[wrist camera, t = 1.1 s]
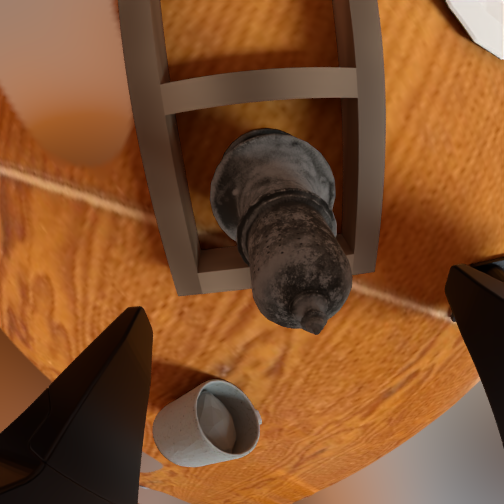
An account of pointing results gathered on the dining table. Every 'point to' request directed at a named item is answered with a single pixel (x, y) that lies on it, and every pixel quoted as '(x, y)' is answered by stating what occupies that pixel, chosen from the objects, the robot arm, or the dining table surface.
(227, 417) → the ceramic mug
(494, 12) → the plate
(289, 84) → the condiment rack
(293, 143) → the salt shaker
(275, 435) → the dining table surface
